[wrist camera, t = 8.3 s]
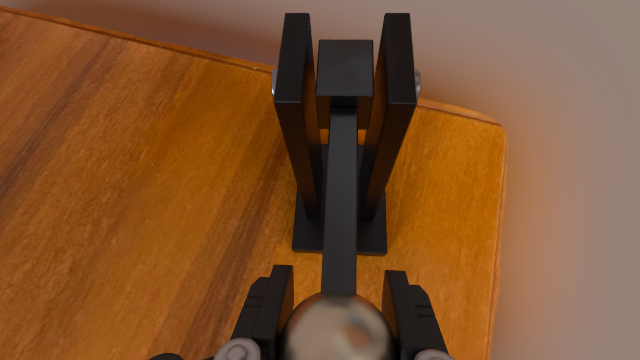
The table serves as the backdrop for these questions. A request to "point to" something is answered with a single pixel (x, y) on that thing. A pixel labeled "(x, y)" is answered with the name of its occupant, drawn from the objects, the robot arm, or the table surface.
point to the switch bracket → (373, 157)
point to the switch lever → (340, 221)
